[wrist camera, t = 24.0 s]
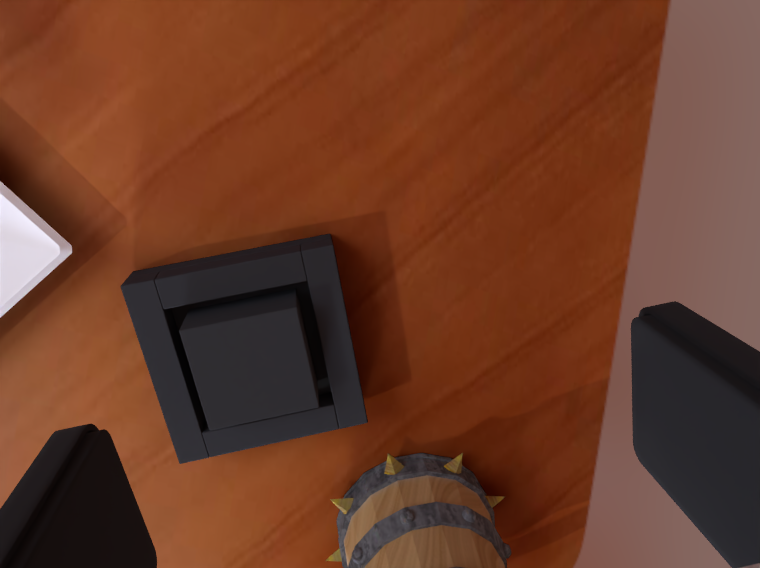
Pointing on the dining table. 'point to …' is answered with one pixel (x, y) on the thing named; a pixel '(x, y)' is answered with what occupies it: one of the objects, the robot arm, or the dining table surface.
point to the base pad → (233, 282)
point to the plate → (25, 249)
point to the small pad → (250, 358)
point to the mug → (418, 517)
